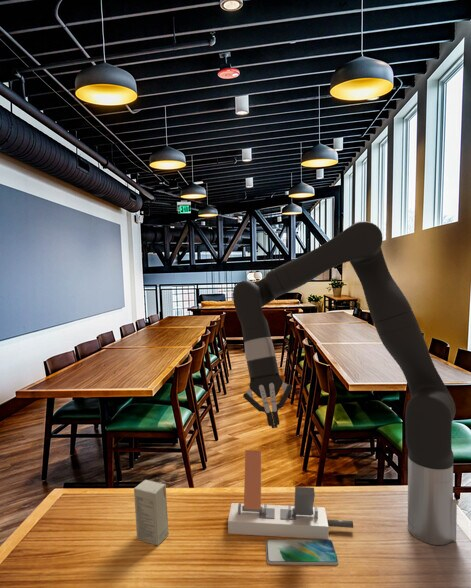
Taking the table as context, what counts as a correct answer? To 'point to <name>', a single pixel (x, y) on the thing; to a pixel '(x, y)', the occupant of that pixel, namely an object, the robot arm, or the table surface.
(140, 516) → the skincare box
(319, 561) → the smartphone
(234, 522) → the power strip
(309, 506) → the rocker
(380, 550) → the table surface
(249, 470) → the bar
